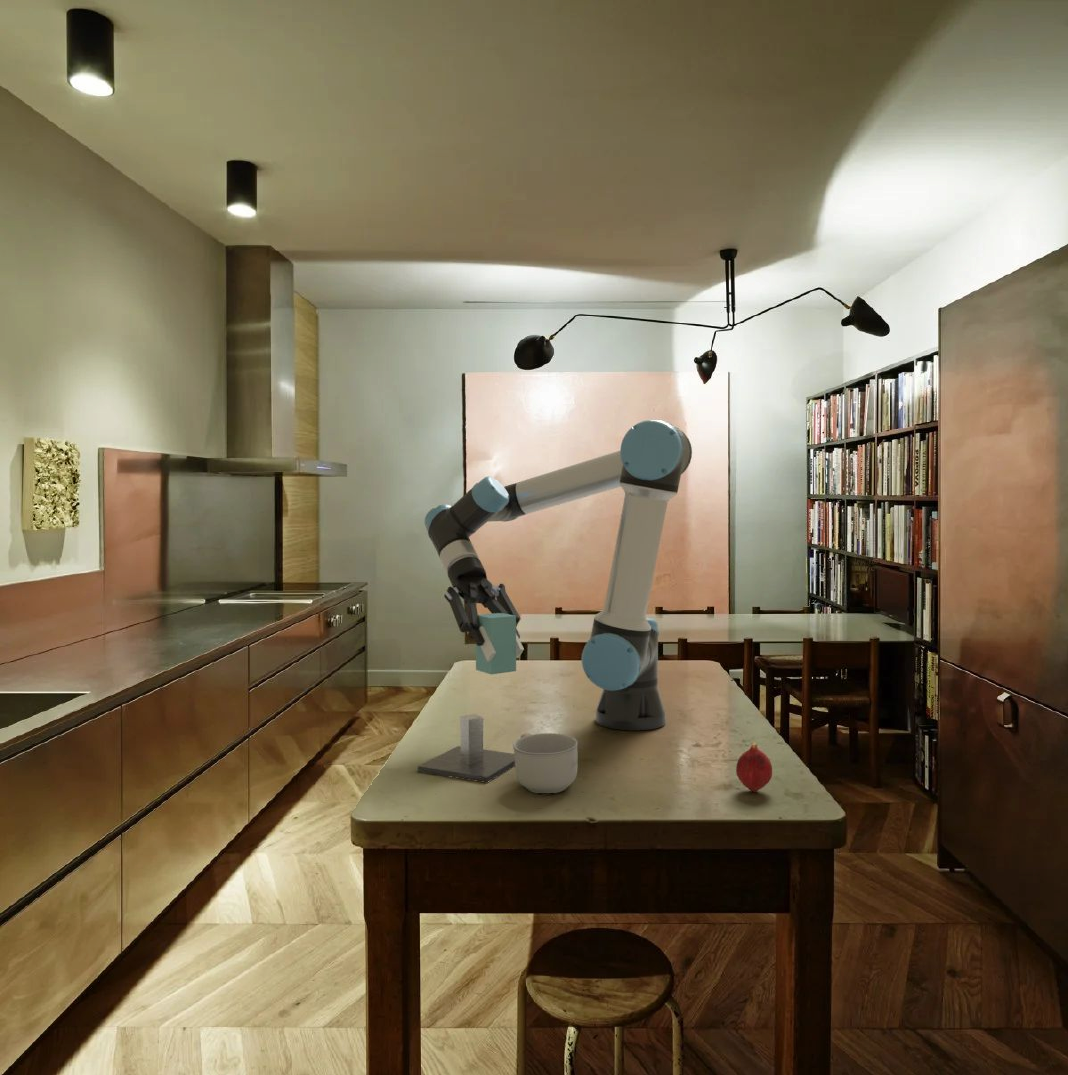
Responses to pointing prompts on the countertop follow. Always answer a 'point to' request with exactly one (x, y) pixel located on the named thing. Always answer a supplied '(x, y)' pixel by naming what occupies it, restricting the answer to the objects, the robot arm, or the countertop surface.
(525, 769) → the teacup
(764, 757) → the onion
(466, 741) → the gray square peg stand
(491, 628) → the teal upright box
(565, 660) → the countertop surface
